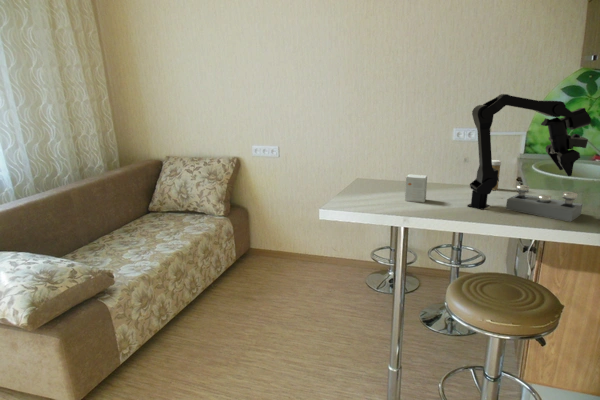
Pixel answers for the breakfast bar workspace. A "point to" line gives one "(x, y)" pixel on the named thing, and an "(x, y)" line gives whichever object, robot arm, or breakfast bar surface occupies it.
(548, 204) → the mount
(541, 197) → the knob middle
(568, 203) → the knob right
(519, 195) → the knob left
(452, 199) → the breakfast bar surface
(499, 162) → the sprinkles bottle
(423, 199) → the small box
